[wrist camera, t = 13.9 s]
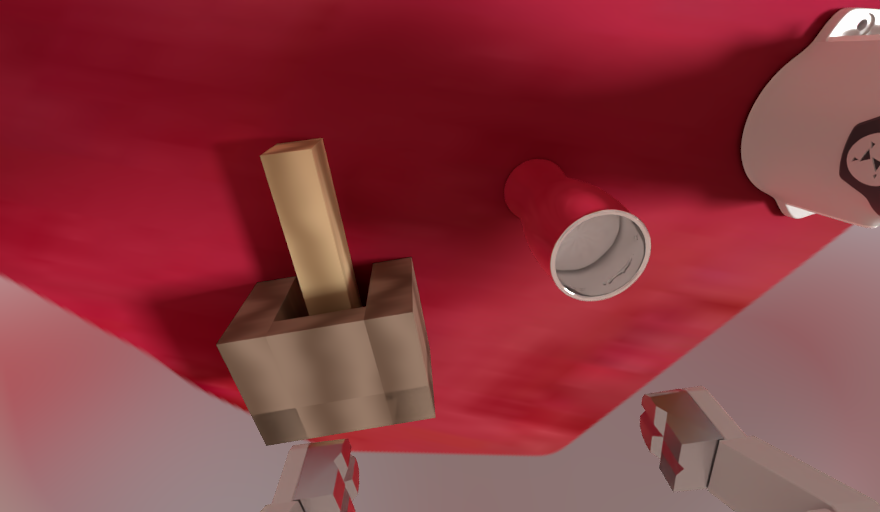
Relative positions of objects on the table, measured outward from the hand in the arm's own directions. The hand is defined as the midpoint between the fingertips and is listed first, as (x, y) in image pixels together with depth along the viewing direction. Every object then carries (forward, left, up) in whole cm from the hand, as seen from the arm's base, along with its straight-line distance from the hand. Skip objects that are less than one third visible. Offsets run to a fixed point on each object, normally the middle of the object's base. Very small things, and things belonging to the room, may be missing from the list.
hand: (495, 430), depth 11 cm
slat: (+12, +5, -30) cm, 32 cm away
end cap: (+12, +15, -30) cm, 35 cm away
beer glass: (-9, +4, -30) cm, 31 cm away
